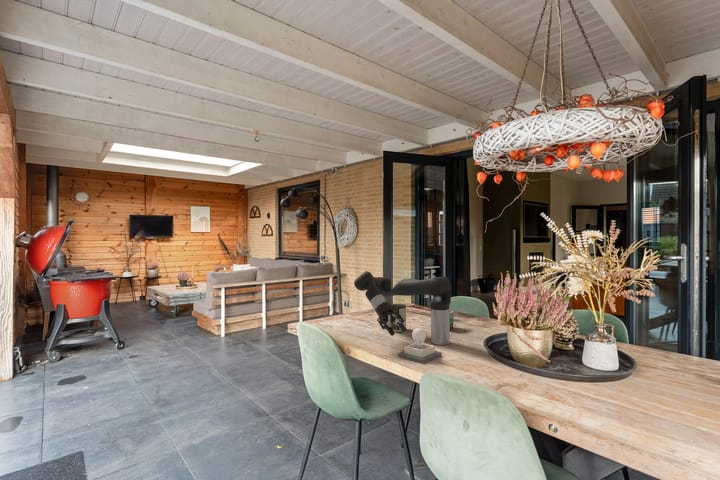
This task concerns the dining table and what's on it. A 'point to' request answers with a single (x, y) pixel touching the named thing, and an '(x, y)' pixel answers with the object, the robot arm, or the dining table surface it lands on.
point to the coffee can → (402, 311)
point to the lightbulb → (418, 337)
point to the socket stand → (419, 353)
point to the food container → (451, 318)
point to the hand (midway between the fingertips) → (399, 333)
